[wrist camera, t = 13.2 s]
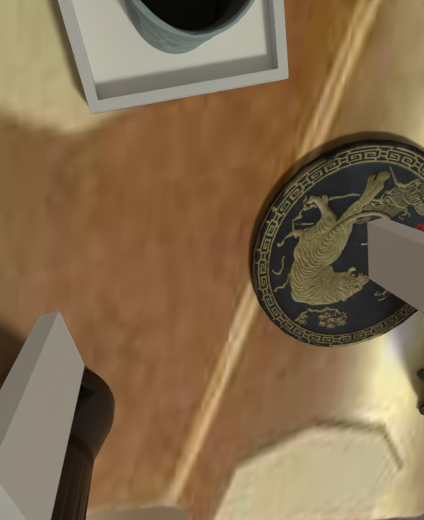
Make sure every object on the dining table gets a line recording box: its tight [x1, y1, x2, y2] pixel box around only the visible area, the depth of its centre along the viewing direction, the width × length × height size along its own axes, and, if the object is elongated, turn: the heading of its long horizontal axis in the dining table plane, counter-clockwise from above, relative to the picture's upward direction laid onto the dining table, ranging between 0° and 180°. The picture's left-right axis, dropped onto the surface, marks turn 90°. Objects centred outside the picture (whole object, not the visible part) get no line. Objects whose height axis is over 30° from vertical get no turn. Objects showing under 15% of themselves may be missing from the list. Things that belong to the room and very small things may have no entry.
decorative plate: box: [251, 140, 424, 347], centre depth 46 cm, size 30×2×30 cm
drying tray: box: [58, 0, 289, 114], centre depth 31 cm, size 20×16×2 cm
